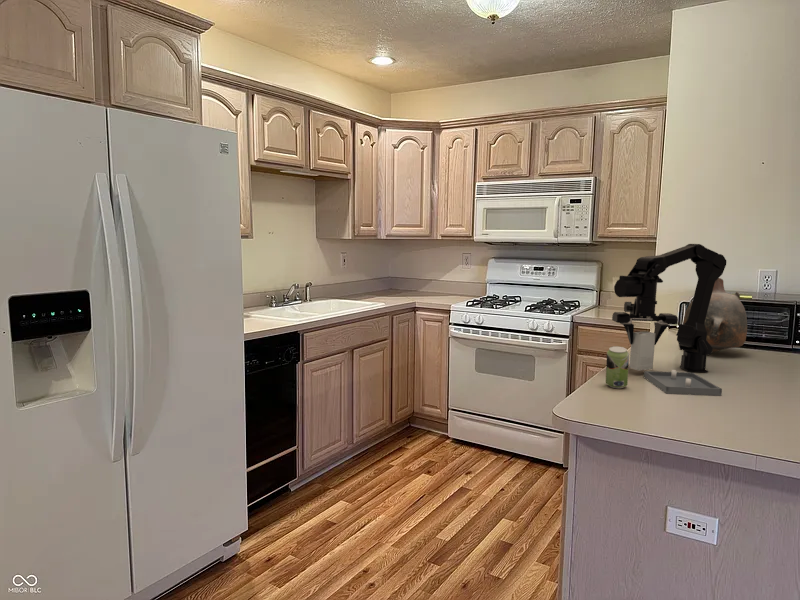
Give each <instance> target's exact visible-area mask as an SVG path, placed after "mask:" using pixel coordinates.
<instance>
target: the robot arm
mask: <svg viewBox="0 0 800 600" xmlns="http://www.w3.org/2000/svg"><path fill="white" fill-rule="evenodd" d="M687 260H690V262H692V263H694V264H695V273H696V275H697V283H696V287H695V290H694V295H693V298H692V300H693V301H692V300H691V302H692V305H691V309H690V313H689V317H688V320H687V321H686V322H685V323H684V324H683V323H680V324H678V323H679V318H678V316H677V315H675V314H672V313H666V312H664V313H663V312H661V313H659V314H658V315H657V313H656V305H658V301H657V290H658V289H657V287H658V284H660V283H661V284H662V283H663V282H664V280H663V279H662V278H661V277H660V276H659V275H661V274H662V273H664V272H665V271H666V270H667V268H669V267H671V266H674V265H677V264H679V263H682V262H685V261H687ZM726 266H727V259H726V257H725V255H723V254H721V253H718V252H717V251H714V250H712V249H709V248H707V247H706V246H704V245H703V244H700V243H688V244H686V245H685V246H682V247H679V248H675V249H674V250H671V251H667V252H665V253H662V254H657V255H648V256H641V257H639V258H637V259H636V262H635V264H634V266H633V267H632V268H631V270H630V271H629V273H628V274H627V275H619V278H618V279H617V280H616V282H615V284H614V287H613V290H614V294H615V295H616V297H618V298H634V303H632V301H624V303H623V304H624V306H623V311H622V312H621V311H615V312H613V313H612V317H611V320H612V321H614V322H615V323H618V324H620V325H622V326H623V328H624V329H625V331H626V335H627V338H628V341H629V345H631V344H632V343H633V332H635V329H634V328H635V324H634V323H633V322H634V321H635V322H653V325H654V332H653V333H655V346H657V343H658V342H659V340H660V339H661V336H662V335H663V333H664V332H665V330H666V329H667V328H670V327H671V325H676V326H677V325H678V329H677V333H676V334H675V336H676V341H677V343H678V347H679V348H678V349H679V350H681V351H683V352H682V355H681V357H680V358H681V360H680V365H679V367H680V368H681V369H682V370H684V371H686V372H687V373H709V370H708V369H706V365H707V356H709V355H711V354H712V353H711V352H712V349H713V348H712V347H711V345H710V344H709V343H708V342H707V340H706V338H707V331H706V328H705V325H704V323H705V319H706V315H707V311H708V307H709V303H710V299H711V295H712V291H713V288H714V284H715V281H716V280H717V279H718V278H721V276H722V275H723V273H724V271H725V269H726Z"/></svg>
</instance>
